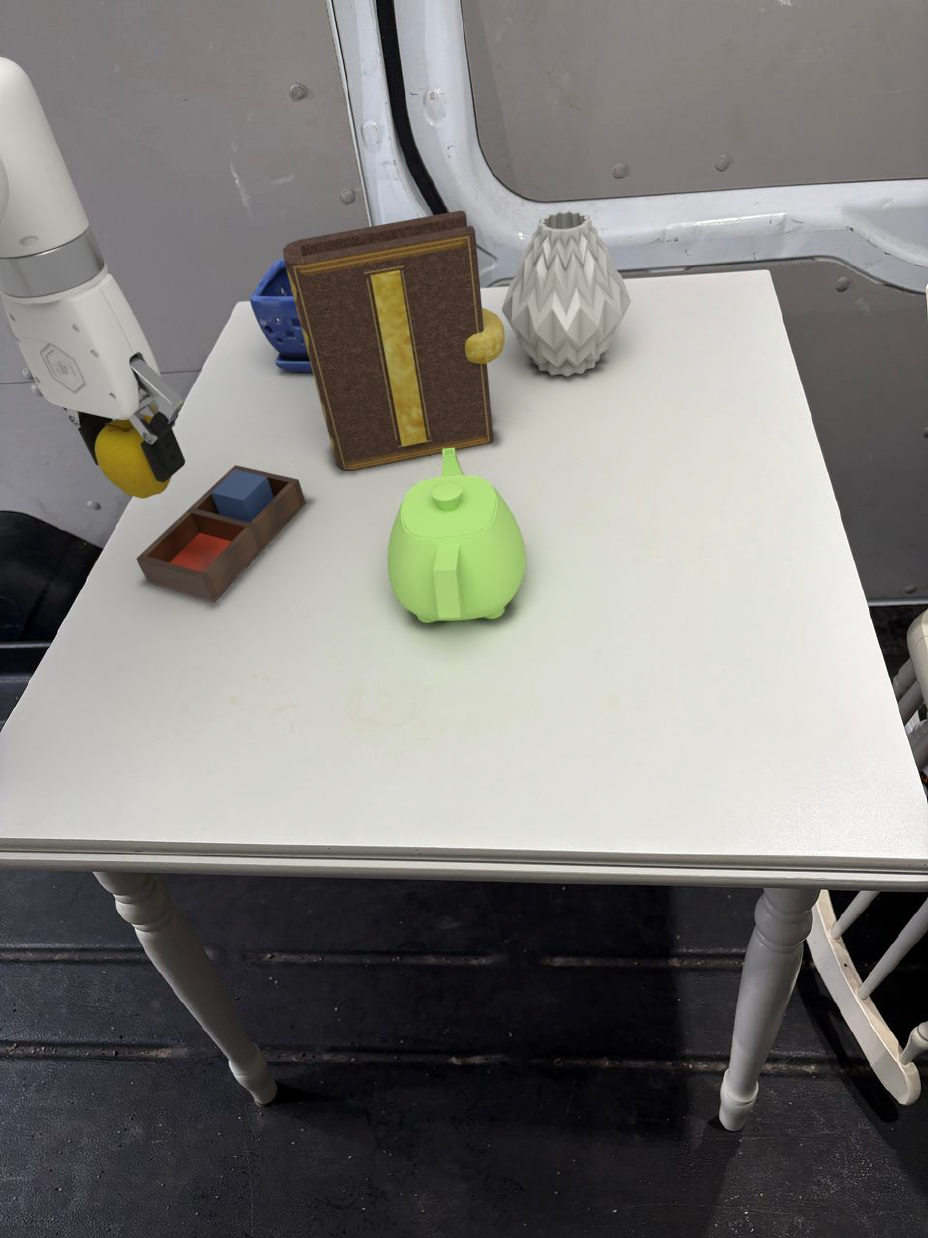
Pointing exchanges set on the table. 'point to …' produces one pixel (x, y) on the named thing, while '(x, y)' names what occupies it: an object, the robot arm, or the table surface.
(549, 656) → the table surface
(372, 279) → the book
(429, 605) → the teapot
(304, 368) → the flower pot
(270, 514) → the tray
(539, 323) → the vase
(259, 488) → the blue block
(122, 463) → the apple
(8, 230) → the robot arm
